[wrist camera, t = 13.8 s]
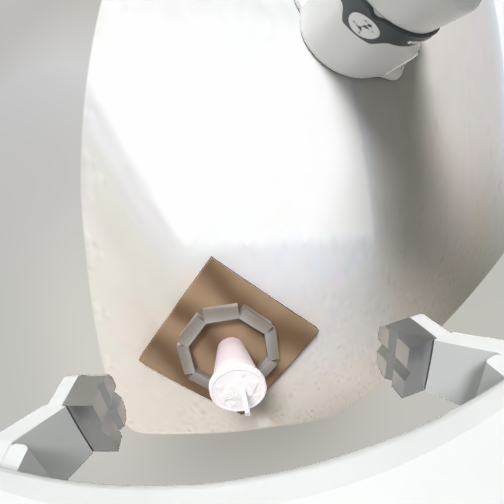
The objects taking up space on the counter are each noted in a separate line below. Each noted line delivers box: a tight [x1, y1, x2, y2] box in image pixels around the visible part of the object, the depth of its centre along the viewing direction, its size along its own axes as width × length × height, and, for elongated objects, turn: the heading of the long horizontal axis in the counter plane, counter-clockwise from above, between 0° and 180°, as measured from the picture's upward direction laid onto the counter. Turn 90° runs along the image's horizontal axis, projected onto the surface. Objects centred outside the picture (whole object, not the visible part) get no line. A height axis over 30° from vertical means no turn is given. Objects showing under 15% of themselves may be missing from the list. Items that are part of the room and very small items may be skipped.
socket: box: [139, 256, 319, 414], centre depth 41 cm, size 18×18×3 cm
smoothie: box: [209, 337, 267, 416], centre depth 35 cm, size 6×6×14 cm
